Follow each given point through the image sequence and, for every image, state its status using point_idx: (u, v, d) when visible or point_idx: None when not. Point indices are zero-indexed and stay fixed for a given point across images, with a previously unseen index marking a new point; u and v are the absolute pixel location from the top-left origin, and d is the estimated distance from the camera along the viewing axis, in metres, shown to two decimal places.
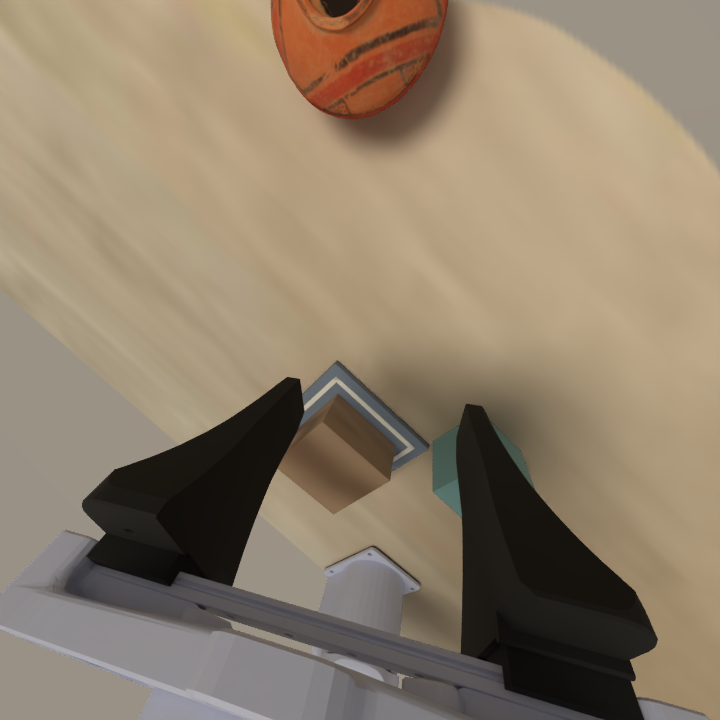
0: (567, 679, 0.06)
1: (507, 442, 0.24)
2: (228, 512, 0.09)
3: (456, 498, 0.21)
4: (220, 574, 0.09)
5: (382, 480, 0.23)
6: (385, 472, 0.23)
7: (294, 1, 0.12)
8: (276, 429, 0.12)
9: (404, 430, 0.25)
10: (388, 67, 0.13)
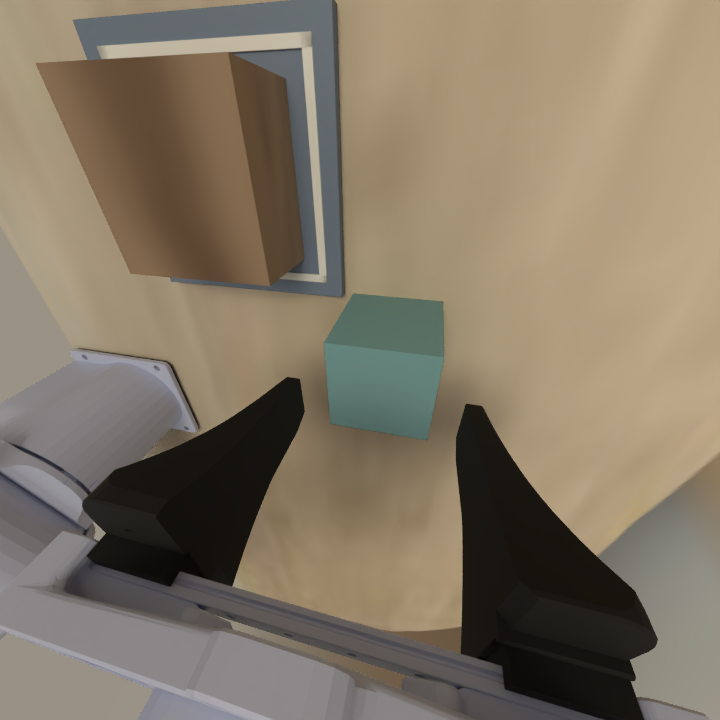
0: (567, 679, 0.06)
1: None
2: (228, 512, 0.09)
3: (346, 371, 0.13)
4: (220, 575, 0.09)
5: (258, 277, 0.12)
6: (271, 270, 0.13)
7: None
8: (276, 429, 0.12)
9: (335, 246, 0.15)
10: None
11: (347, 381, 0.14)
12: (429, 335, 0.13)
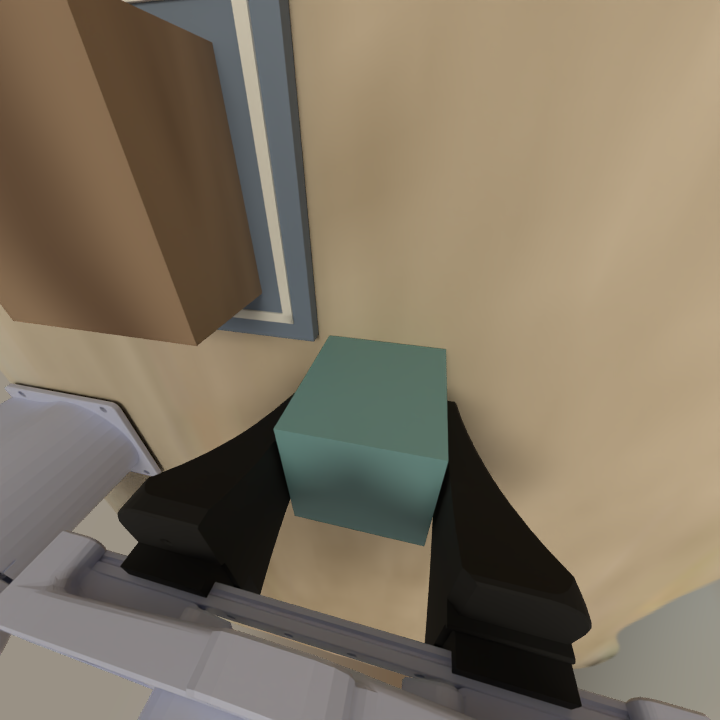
0: (510, 663, 0.06)
1: None
2: (258, 519, 0.09)
3: (308, 464, 0.09)
4: (249, 583, 0.09)
5: (178, 333, 0.09)
6: (199, 323, 0.09)
7: None
8: None
9: (301, 279, 0.11)
10: None
11: (311, 475, 0.10)
12: (426, 414, 0.09)
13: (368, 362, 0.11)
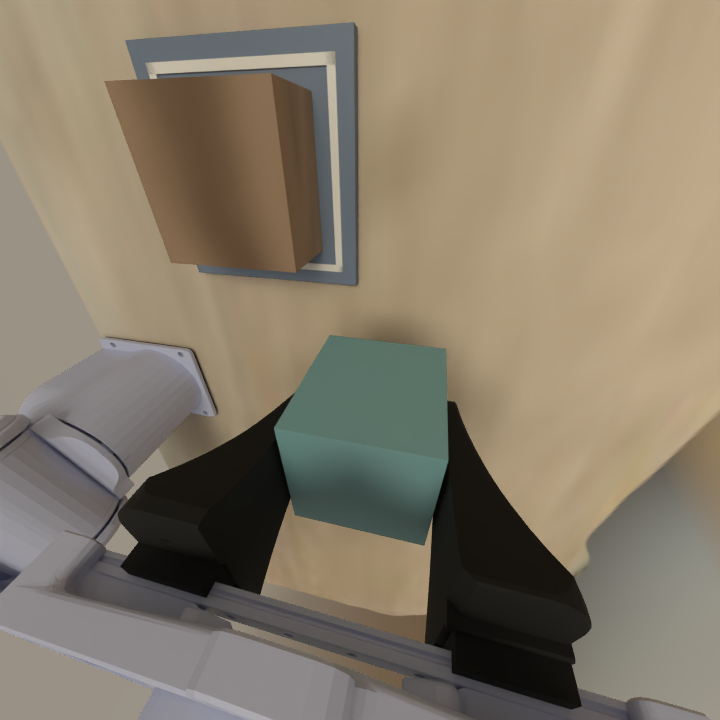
0: (510, 662, 0.06)
1: None
2: (259, 519, 0.09)
3: (308, 463, 0.09)
4: (249, 583, 0.09)
5: (286, 264, 0.14)
6: (297, 258, 0.14)
7: None
8: None
9: (351, 239, 0.17)
10: None
11: (311, 474, 0.10)
12: (426, 413, 0.09)
13: (368, 362, 0.11)
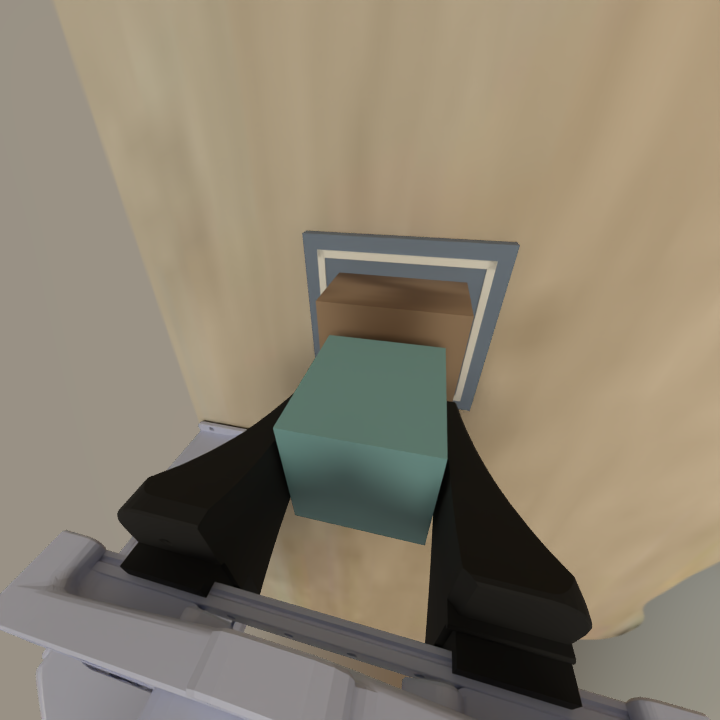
0: (510, 663, 0.06)
1: None
2: (258, 519, 0.09)
3: (308, 463, 0.09)
4: (249, 583, 0.09)
5: None
6: None
7: None
8: None
9: (474, 379, 0.19)
10: None
11: (311, 474, 0.10)
12: (426, 413, 0.09)
13: (368, 361, 0.11)
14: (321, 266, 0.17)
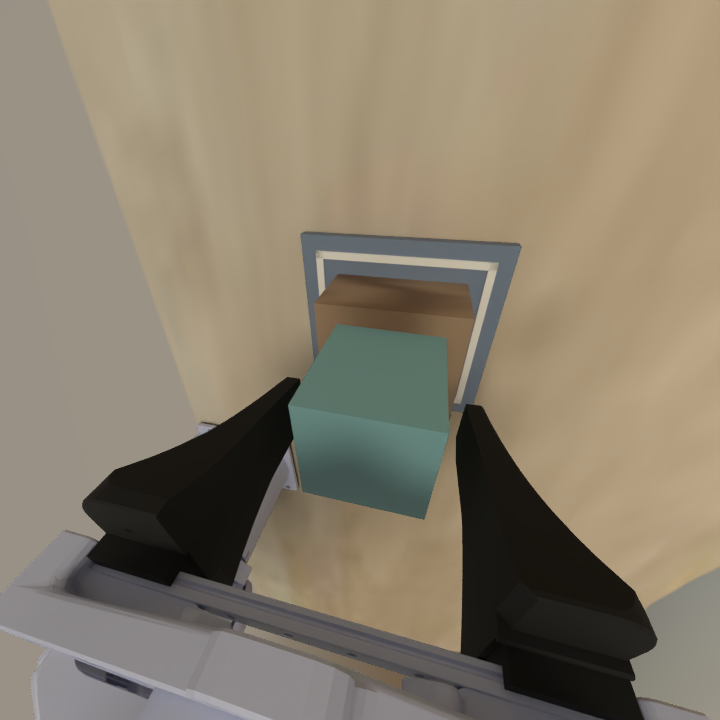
0: (567, 679, 0.06)
1: None
2: (228, 512, 0.09)
3: (319, 439, 0.10)
4: (220, 574, 0.09)
5: None
6: None
7: None
8: (276, 429, 0.12)
9: (475, 382, 0.19)
10: None
11: (321, 450, 0.10)
12: (429, 394, 0.10)
13: (374, 348, 0.12)
14: (319, 267, 0.17)
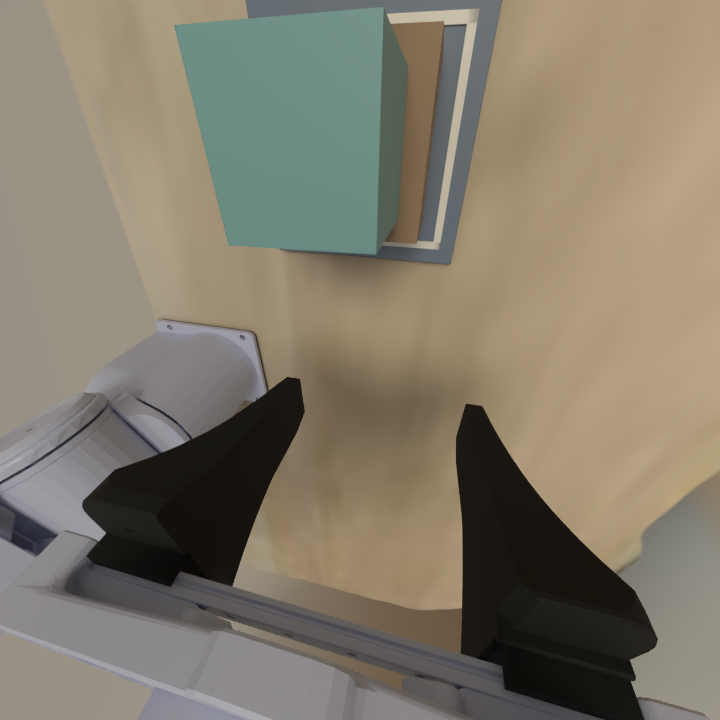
0: (567, 679, 0.06)
1: (398, 169, 0.12)
2: (228, 512, 0.09)
3: (225, 102, 0.08)
4: (219, 575, 0.09)
5: (407, 235, 0.14)
6: (418, 229, 0.14)
7: None
8: (276, 429, 0.12)
9: (455, 214, 0.16)
10: None
11: (232, 131, 0.08)
12: None
13: None
14: None
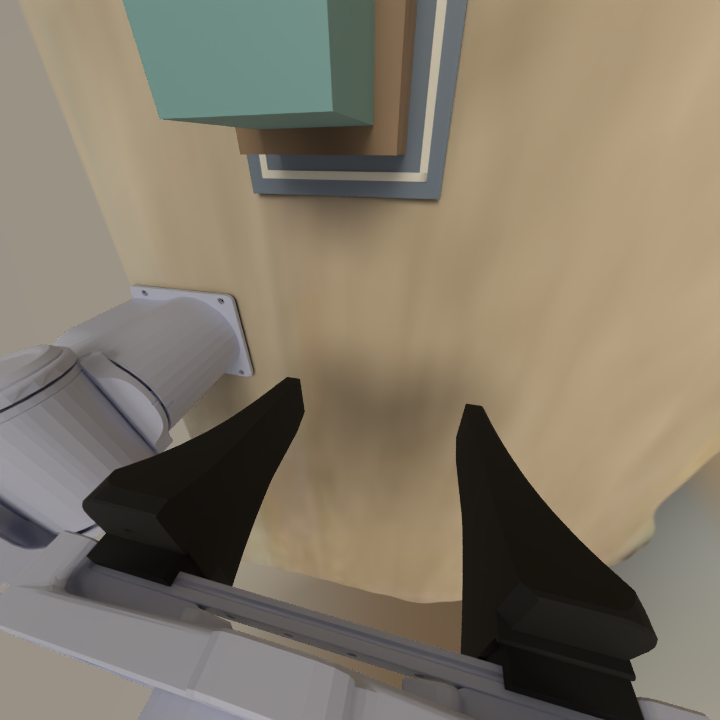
0: (567, 679, 0.06)
1: (369, 48, 0.10)
2: (228, 512, 0.09)
3: None
4: (220, 574, 0.09)
5: (385, 144, 0.12)
6: (398, 138, 0.12)
7: None
8: (276, 429, 0.12)
9: (443, 136, 0.15)
10: None
11: None
12: None
13: None
14: None
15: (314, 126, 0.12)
